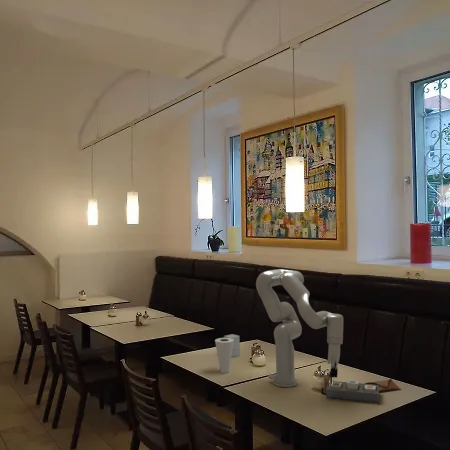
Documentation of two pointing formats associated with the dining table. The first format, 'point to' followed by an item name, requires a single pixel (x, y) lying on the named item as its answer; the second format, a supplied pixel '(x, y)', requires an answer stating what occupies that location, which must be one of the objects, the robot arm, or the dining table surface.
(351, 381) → the key mid
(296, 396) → the dining table surface
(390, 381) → the sunglasses case
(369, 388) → the key right
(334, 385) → the key left
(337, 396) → the block
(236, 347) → the supplement box
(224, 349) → the cup
